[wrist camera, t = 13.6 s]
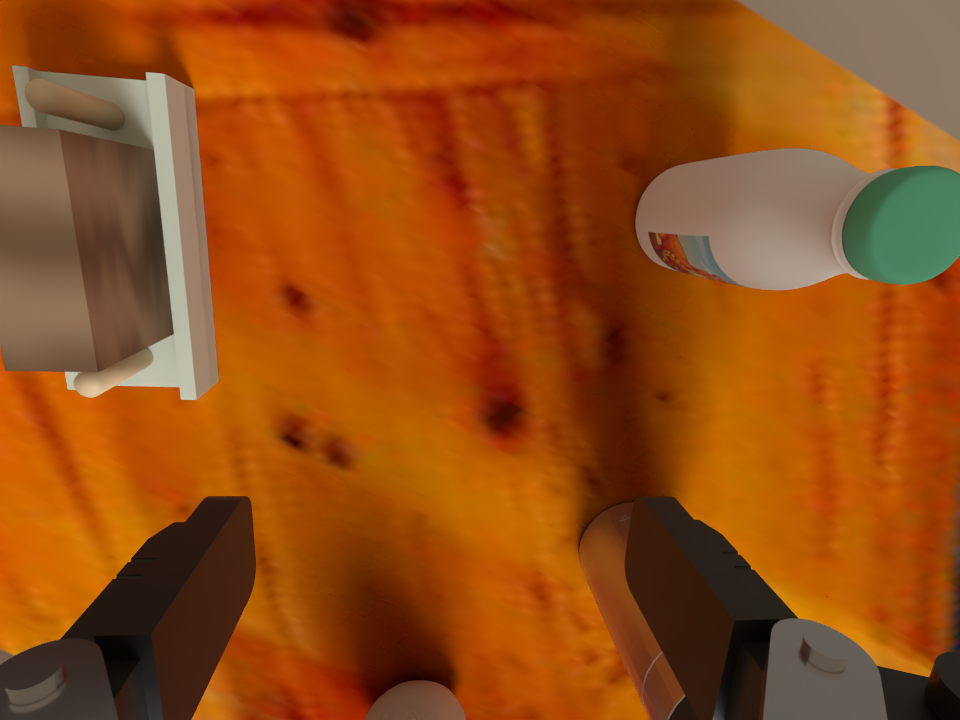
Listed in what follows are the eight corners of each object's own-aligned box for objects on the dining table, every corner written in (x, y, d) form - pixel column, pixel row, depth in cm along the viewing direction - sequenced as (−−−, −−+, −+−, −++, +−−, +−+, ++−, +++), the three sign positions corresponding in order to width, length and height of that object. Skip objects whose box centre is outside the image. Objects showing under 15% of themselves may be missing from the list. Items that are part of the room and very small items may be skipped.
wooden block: (175, 333, 36) (98, 372, 27) (103, 331, 35) (0, 370, 27) (154, 149, 33) (58, 129, 24) (74, 144, 32) (-53, 121, 23)
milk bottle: (616, 194, 38) (812, 180, 19) (710, 144, 38) (1005, 80, 19) (652, 286, 40) (859, 356, 21) (741, 240, 40) (1032, 270, 21)
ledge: (219, 381, 39) (172, 420, 32) (90, 378, 38) (12, 417, 30) (194, 89, 33) (131, 56, 26) (42, 76, 32) (-67, 38, 25)
